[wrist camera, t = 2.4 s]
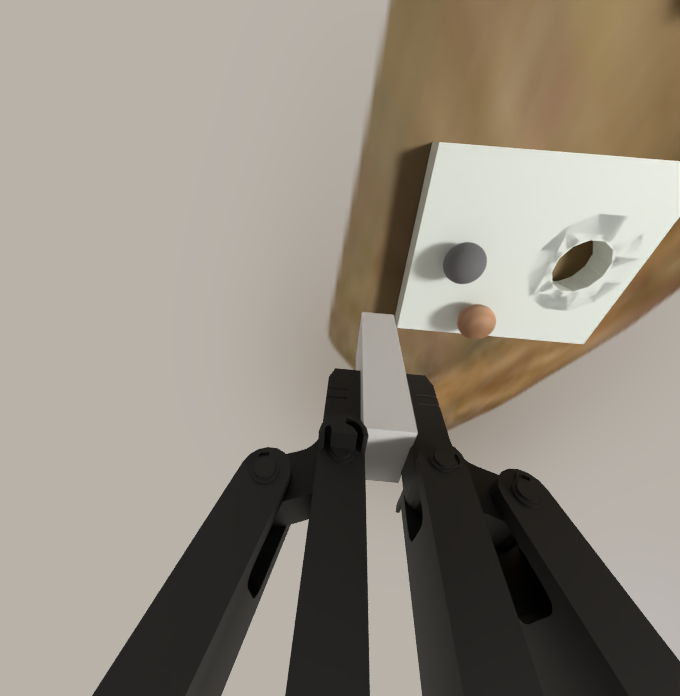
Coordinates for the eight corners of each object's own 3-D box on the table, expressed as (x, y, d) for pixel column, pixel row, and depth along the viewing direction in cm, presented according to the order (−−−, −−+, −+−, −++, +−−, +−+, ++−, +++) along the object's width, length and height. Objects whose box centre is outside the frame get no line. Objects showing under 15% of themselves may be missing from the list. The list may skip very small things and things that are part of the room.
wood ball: (459, 296, 27) (470, 313, 24) (493, 299, 27) (508, 317, 24) (448, 325, 29) (457, 344, 26) (480, 328, 29) (493, 347, 26)
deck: (432, 142, 22) (439, 142, 20) (685, 162, 21) (718, 164, 19) (394, 316, 31) (397, 327, 29) (569, 331, 31) (583, 344, 29)
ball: (445, 235, 23) (456, 247, 21) (484, 239, 23) (500, 251, 21) (434, 273, 25) (443, 288, 23) (470, 276, 25) (483, 292, 23)
